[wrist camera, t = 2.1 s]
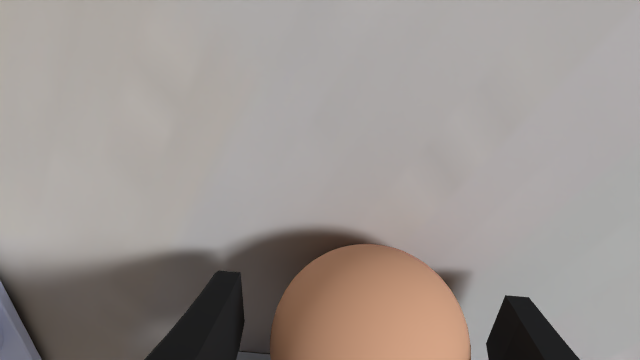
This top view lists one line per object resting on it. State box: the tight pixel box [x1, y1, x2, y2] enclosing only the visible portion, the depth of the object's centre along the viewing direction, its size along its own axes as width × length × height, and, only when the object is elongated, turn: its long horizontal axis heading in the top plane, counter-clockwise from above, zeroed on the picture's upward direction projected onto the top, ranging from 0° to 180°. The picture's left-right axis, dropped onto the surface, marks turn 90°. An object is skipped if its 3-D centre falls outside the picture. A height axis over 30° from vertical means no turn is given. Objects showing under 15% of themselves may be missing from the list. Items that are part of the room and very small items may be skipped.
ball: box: [270, 244, 471, 360], centre depth 11 cm, size 5×5×5 cm
